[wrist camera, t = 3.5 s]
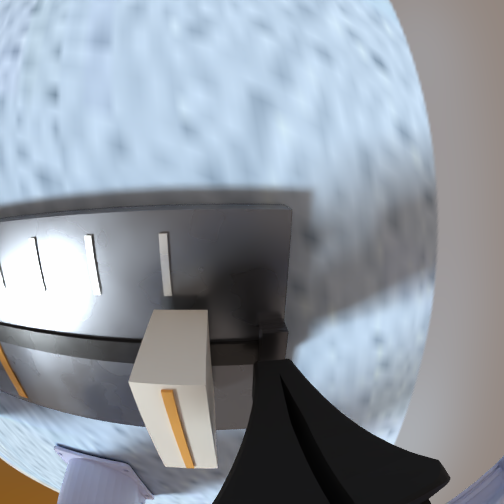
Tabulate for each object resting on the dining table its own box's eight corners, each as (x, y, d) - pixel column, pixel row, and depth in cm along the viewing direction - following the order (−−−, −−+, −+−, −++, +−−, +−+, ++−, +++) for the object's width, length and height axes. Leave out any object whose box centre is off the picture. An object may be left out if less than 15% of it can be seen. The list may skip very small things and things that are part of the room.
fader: (214, 400, 11) (218, 470, 7) (172, 399, 11) (165, 468, 7) (207, 309, 10) (205, 388, 6) (153, 309, 9) (127, 384, 6)
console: (267, 411, 14) (273, 436, 12) (-22, 369, 11) (-32, 383, 9) (284, 204, 11) (298, 213, 9) (-68, 230, 8) (-85, 237, 6)
